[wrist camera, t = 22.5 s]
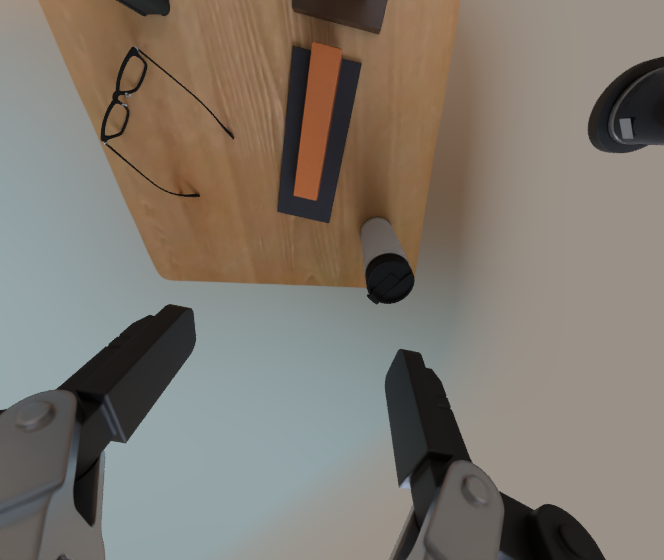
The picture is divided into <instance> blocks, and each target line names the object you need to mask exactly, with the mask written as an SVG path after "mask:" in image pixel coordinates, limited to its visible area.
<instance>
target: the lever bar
mask: <svg viewBox="0 0 664 560" xmlns="http://www.w3.org/2000/svg"><path fill="white" fill-rule="evenodd" d="M342 57H343V55H342V49H339V48H335V47H332V46H328V45H324V44H320V43H316V42H312V50H311V58H310V66H309V74H308V82H307V90H306V98H305V107H304V115H303V123H302V131H301V139H300V147H299V155H298V163H297V171H296V179H295V188H294V196H297V197H302V198H306V199H311V200H315V201H316V200H317V198H318V195H319V189H320V183H321V178H322V172H323V166H324V160H325V155H326V149H327V143H328V137H329V132H330V126H331V120H332V114H333V108H334V103H335V97H336V91H337V85H338V80H339V74H340V68H341V62H342Z"/></svg>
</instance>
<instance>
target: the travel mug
mask: <svg viewBox="0 0 664 560" xmlns="http://www.w3.org/2000/svg"><path fill="white" fill-rule="evenodd" d="M360 236H361V245H362V254H363V262H364V271H365V278H366V285H367V290H368V293H369V294H368V295H367V297H368V298H369V299H370V300H371V301H372V302H374V303H375V304H378V303H379V302H380V303H384V304H391V303H396V302H399V301H400V300H402V299H404V298H405V297H406V296H407V295H408V294H409V293H410V292H411V290H412V288H413V286H414V275H413V272H412V269H411V267H410V264H409V262H408V260H407V258H406V256H405V254H404V251H403V249H402V247H401V245H400V243H399V241H398V239H397V237H396V234H395V232H394V230H393V228H392V226H391V224H390V223H389V221H387V220H386V219H384V218H381V217H374V218H371V219H369V220H367V221H366V222H365V223H364V224H363V226H362V227H361V231H360Z"/></svg>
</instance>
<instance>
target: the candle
mask: <svg viewBox="0 0 664 560" xmlns="http://www.w3.org/2000/svg"><path fill="white" fill-rule="evenodd" d="M116 1H118V2H120V3H122V4H123V5H125V6H127V7H128V8H130V9H132V10H134V11H135V12H137V13H139V14H140V15H142V16H146V14H161V15H163V16H166V15H167V14H168V13H169V11H170V4H169V0H116Z"/></svg>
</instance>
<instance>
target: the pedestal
mask: <svg viewBox="0 0 664 560" xmlns="http://www.w3.org/2000/svg"><path fill="white" fill-rule="evenodd" d="M386 4H387V0H292V8H293V10H294V12H297V13H301V14H305V15H308V16H312V17H316V18H320V19H324V20H327V21H331V22H335V23H339V24H343V25H346V26H350V27H354V28H358V29H362V30H365V31H369V32H373V33H377V34H380V30H381V26H382V22H383V17H384V13H385V8H386Z"/></svg>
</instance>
